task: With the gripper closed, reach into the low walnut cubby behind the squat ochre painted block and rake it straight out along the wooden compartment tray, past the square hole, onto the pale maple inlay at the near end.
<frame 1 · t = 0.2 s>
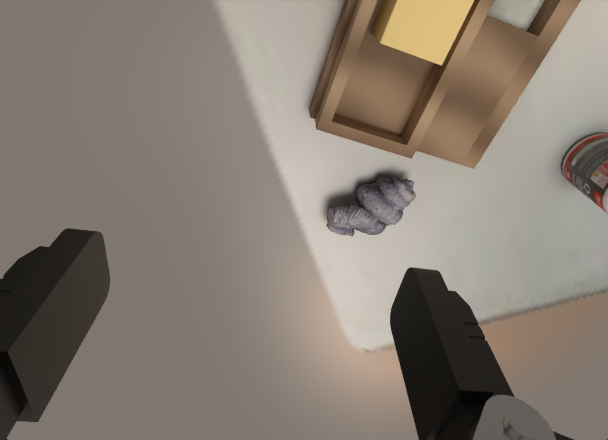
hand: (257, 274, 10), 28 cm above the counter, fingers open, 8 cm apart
block: (413, 11, 30), point 2 cm above the counter, touching wooden compartment tray
wooden compartment tray: (448, 16, 32), on the counter
pill bottle: (588, 157, 40), on the counter
cubby: (395, 63, 31), on the wooden compartment tray, point 3 cm above the counter
seashell: (367, 195, 42), on the counter
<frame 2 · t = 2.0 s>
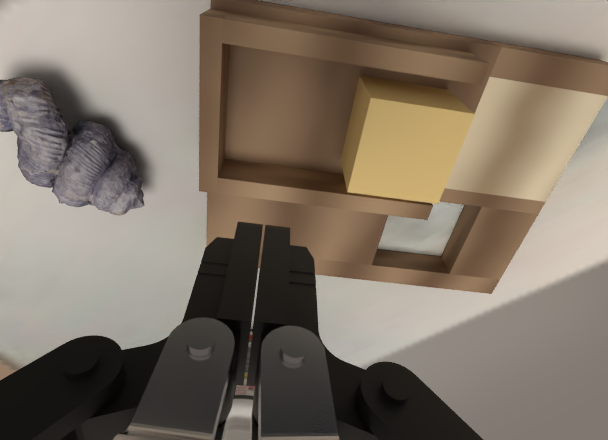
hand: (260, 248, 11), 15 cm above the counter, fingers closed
block: (391, 126, 23), point 2 cm above the counter, touching wooden compartment tray
wooden compartment tray: (378, 165, 26), on the counter
pill bottle: (251, 346, 37), on the counter
cubby: (329, 124, 21), on the wooden compartment tray, point 3 cm above the counter
seashell: (91, 138, 25), on the counter
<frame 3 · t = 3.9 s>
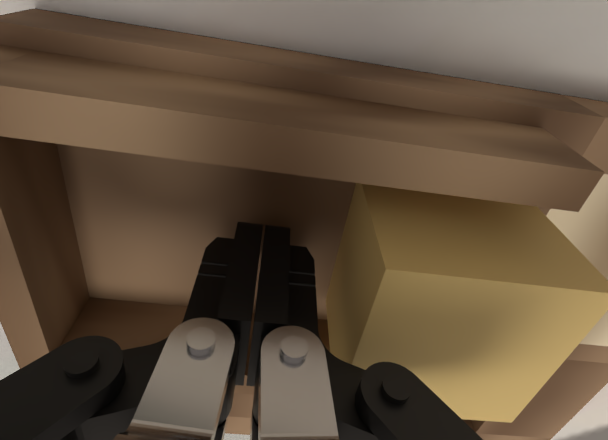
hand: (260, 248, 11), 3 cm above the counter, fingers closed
block: (416, 252, 12), point 2 cm above the counter, touching wooden compartment tray, gripper
wooden compartment tray: (364, 285, 16), on the counter
cubby: (263, 261, 11), on the wooden compartment tray, point 3 cm above the counter
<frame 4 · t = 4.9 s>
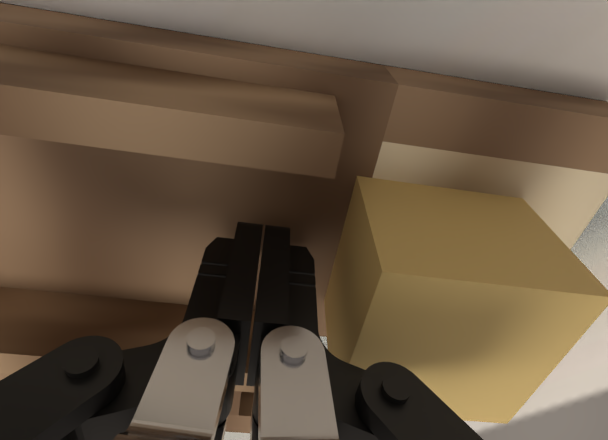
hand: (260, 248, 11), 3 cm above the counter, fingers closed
block: (414, 254, 13), point 2 cm above the counter, touching gripper
wooden compartment tray: (230, 270, 15), on the counter
cubby: (60, 237, 10), on the wooden compartment tray, point 3 cm above the counter
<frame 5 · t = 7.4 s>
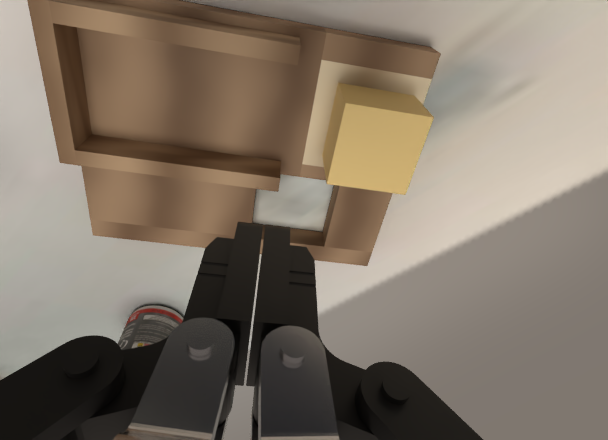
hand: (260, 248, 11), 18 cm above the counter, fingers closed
block: (366, 126, 26), point 2 cm above the counter, touching wooden compartment tray
wooden compartment tray: (247, 144, 28), on the counter
pill bottle: (159, 321, 39), on the counter
cubby: (176, 101, 23), on the wooden compartment tray, point 3 cm above the counter
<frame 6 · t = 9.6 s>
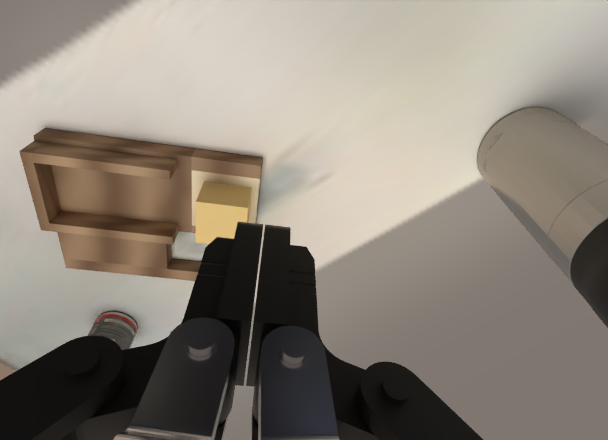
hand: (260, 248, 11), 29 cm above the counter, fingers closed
block: (226, 204, 42), point 2 cm above the counter, touching wooden compartment tray
wooden compartment tray: (160, 211, 45), on the counter
pill bottle: (118, 322, 56), on the counter
cubby: (107, 195, 40), on the wooden compartment tray, point 3 cm above the counter
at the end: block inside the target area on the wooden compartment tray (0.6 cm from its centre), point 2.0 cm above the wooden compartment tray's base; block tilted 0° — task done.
